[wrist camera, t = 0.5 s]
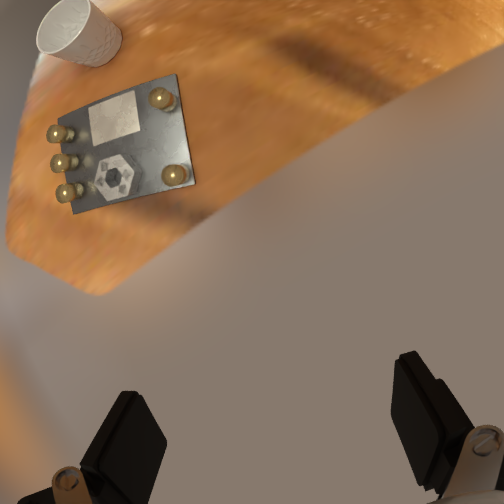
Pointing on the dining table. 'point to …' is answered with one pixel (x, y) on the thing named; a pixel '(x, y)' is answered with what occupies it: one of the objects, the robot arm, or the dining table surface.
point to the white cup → (79, 33)
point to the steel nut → (107, 174)
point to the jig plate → (123, 143)
